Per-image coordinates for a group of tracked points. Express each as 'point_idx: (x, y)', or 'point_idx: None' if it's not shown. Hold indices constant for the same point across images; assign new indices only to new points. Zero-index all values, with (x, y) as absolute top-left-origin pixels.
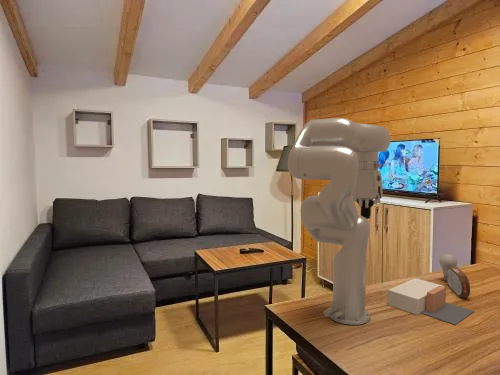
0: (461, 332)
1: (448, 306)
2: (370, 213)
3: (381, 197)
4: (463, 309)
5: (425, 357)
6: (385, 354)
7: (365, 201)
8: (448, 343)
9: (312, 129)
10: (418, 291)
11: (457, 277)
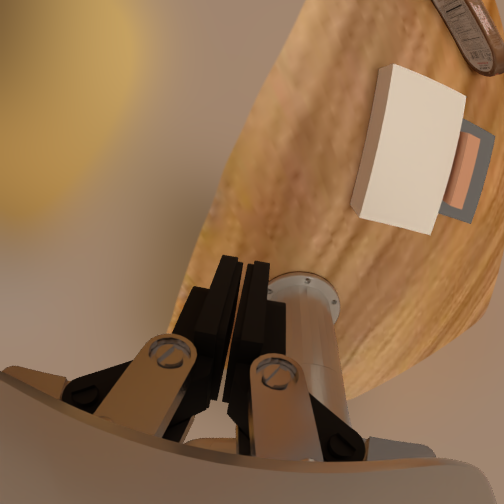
0: (474, 244)
1: None
2: (285, 319)
3: (471, 475)
4: (482, 138)
5: (423, 341)
6: (379, 363)
7: (171, 415)
8: (454, 292)
9: None
10: (426, 178)
11: (485, 45)
